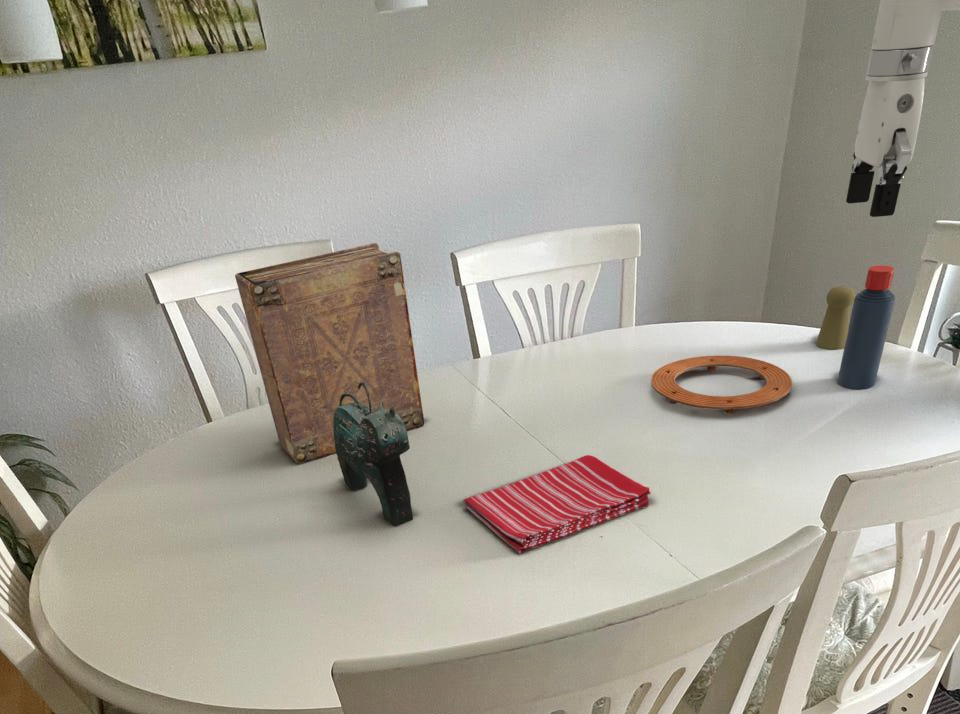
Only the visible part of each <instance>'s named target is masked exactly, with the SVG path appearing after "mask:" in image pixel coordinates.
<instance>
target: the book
mask: <svg viewBox="0 0 960 714" xmlns="http://www.w3.org/2000/svg"><path fill="white" fill-rule="evenodd" d="M403 270H404V269H403V264H402V257H401V252H399V251H391V252H385V251H383V250H380V247H379V245H378V243H377V242H373V243H369V244H364V245H359V246H355V247H350V248H346V249H341V250H337V251H332V252H327V253H323V254H318V255H314V256H309V257H305V258H300V259H296V260H290V261H288V262H281V263H277V264H274V265H269V266H265V267H260V268H256V269H251V270H246V271H241V272H237V273H235V274H234V278H235V281H236V285H237V290H238V293H239V296H240V300H241V304H242V308H243V311H244V315H245V318H246V319H245V320H246V323H247V326H248V330H249V334H250V338H251V340H252V345H253V349H254V353H255V356H256V360H257V363H258V368H259V371H260V375H261V379H262V383H263V385H264V390H265V394H266V397H267V401H268V404H269V405H268V406H269V409H270V412H271V416H272V419H273V420H272V421H273V424H274V428H275V431H276V435H277V439H278V442H279V445H280V447H281V448H282V449H283V450H284V451H285V452H286V453H287V455H289V457H290V458H291V459H292V460H293V461H294V462H295V463H296V464H297V465H300V464H301V465H302V464H304V463H308V462H312V461H314V460H317V459H320V458H324V457H327V456H330V455H331V456H332V455H335V454H337V453H336V449H335V440H334V429H333V419H334V413H335V411H336V409H337V408H338V407H339V406H340V398H341V396H342V394H345V393H349V394H351V395H353V396H354V397H355V398H356V399H357V400H358V402H359V403H360V404H363V405H366V406H367V407H369V401H368V397H367V394H366V391H365V388H364V387H363V386H361V387H360V389H358V385H359V383H361V382H364V383H365V385H366V387H367V389H368V391H369V398H370V401H371V410H372V411H373V412H375V411H376V410H377V408H378V406H379V404H380V403H381V402H382V401H383V407H384V410H389V409H390V408H392V407H394V412H395V413H397V414H398V415H399V417H400V418H401V419H402V421H403V423H404V425H405V427H406V430H407V432H408V431H412V430H416V429H418V428H421V427H424V425H425V418H424V411H423V404H422V396H421V390H420V383H419V376H418V369H417V363H416V357H415V356H416V355H415V348H414V341H413V334H412V327H411V322H410V321H411V320H410V311H409V305H408V299H407V298H408V297H407V291H406V285H405V278H404V271H403ZM353 402H355V401H354V400H353V399H352V398H351V397H348V396H345V397H344V399H343V401H342V406H344V405H346V404H349V403H353Z"/></svg>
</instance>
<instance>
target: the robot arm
mask: <svg viewBox="0 0 960 714" xmlns="http://www.w3.org/2000/svg"><path fill="white" fill-rule="evenodd" d="M943 11H944V12H945V11H960V0H880V1H879V6H878V12H877V16H876V20H875V21H876V22H875V27H874V31H873V36H872V37H873V38H872V43H871V50H870V53H869V59H868V64H867V70H866V74H865V81H868V82H869V83H868V86H867V89H866V93H865V97H864V100H863V105H862V108H861V113H860V118H859V122H858V126H857V132H856V135H855V143H854V145H855V146H854V152H853V155H852V156H853V162H852V165H851V167H850V169H851V173H850V178H849V183H848V189H847V194H846V199H845V202H846V203H847V204H859V203H861V204H862V203H867V202H869V200H870V196H871V191H872V187H873V181H874V177H875V171H874V170H873V169H874V168H878V169H877V170H878V184H875V186H874V190H873V196H872V199H871V200H872V201H871V205H870V210H869V216H870V217H871V218H877V217H878V218H879V217H891V216H893V215H894V214H895V211H896V207H897V202H898V198H899V193H900V190H901V189H900V188H901V185H902V183H903V181H904V175H905V173H906V171H907V169H908V164H909V163H911V162H912V160H913V157H914V153H915V148H916V145H917V138H918V134H919V127H920V122H921V116H922V112H923V111H922V110H923V105H924V104H923V103H924V96H925V86H926V85H925V83H926V78H927V77H928V74H929V70H930V66H931V61H932V56H933V51H934V47H935V43H936V39H937V35H938V30H939V26H940V20H941V16H942V12H943ZM887 169H888V170H887Z"/></svg>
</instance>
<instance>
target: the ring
mask: <svg viewBox="0 0 960 714" xmlns="http://www.w3.org/2000/svg"><path fill="white" fill-rule="evenodd" d="M717 367H727V368H728V367H729V368H737V369H743V370H748V371H749V372H750V371H751V372H753V373H755V374H758V378H759V379H761V380H765V381H766V384H765V385H764V386H763V387H762V388H760V389H758V390H755V391H753V392H749V393H745V394H739V395H738V394H737V395H727V396H722V395H721V396H720V395H708V394H701V393H697V392H692V391H690V390H687V389H685V388H683V387H681V386H680V385H679V384H678V383H677V382H676V379H677V378H678V377H679V376H680V375H682V374H683V373H686V372H688V371H692V370H695V369H701V368H702V369H703V368H706V370H707V372H708V371H709V372H715V371H716V369H717ZM650 382H651V386H652V389H653V390H654V391H655V392H656V393H657V394H659V395H660V396H661V397H663V398H665V399H666V400H669V401H668V402H669V404H672V405H676V404H680V405H683V406H687V407H692V408H697V409H707V410H722V411H723V413H725V414H727V415H728V414H729V415H730V414H733V413H734V411H735V410H742V409H743V410H744V409H749V408H756V407H762V406H765V405H768V404H772V403H774V402H775V403H776V402H777V401H779V400H781V399H783V398H784V397H786V396H787V395H788V394H789V393H790V392H791V390H792V387H793V380H792V377H791V376H790V374H789V373H787V371H786V370H784V369H783V368H781V367H780V366H778V365H776V364H773V363H770V362H767V361H765V360H761V359H757V358H752V357H747V356H739V355H702V356H694V357H687V358H683V359H679V360H675V361H671V362H669V363H667V364H665V365H663V366H661V367H659V368H658V369H656V370H655V371H654V372H653V373H652V375H651V378H650Z"/></svg>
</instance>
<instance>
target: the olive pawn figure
mask: <svg viewBox="0 0 960 714" xmlns="http://www.w3.org/2000/svg"><path fill="white" fill-rule="evenodd" d="M855 296H856V292H855V289H854V288H852V287H850V286H844V285H843V286H841V285H840V286H835V287H832V288H831V289H830V290H829V291H828V292H827V294H826V299H825V300H826V304H827V308H826V311H825V314H824V317H823V320H822V323H821V326H820V330H819V332H818V335H817V338H816V342H815V346H817V347H818V348H820V349H823V350H843V349H844V347H845V342H846V337H847V332H848V328H849V323H850V317H851V306H853V304H854V299H855Z"/></svg>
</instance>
